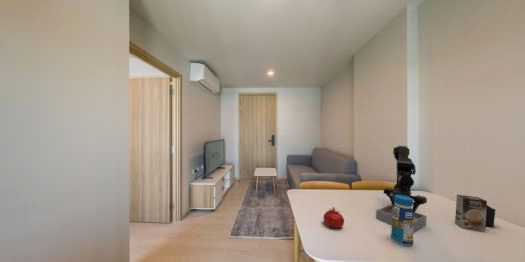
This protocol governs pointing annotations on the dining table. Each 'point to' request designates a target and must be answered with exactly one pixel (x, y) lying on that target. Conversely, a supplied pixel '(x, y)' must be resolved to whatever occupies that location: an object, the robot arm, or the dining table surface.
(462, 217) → the coffee box
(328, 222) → the pomegranate
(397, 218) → the beverage bottle
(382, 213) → the box
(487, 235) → the dining table surface
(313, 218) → the dining table surface
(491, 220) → the pen holder
